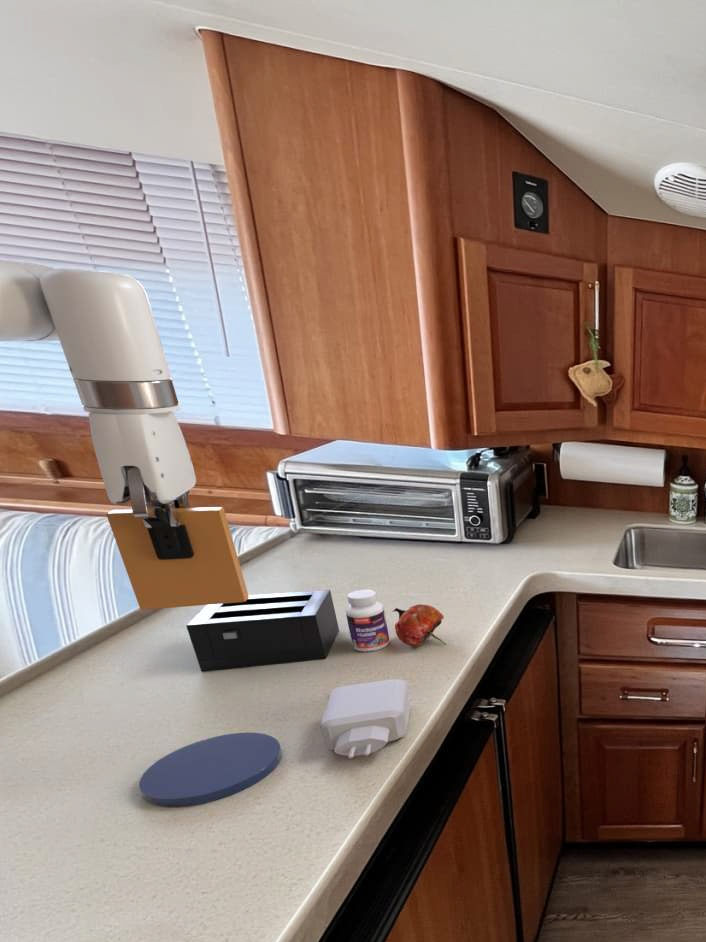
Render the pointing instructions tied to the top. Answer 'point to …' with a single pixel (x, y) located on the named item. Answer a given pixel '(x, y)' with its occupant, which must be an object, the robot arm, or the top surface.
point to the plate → (210, 769)
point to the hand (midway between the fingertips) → (180, 554)
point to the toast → (181, 561)
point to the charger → (366, 716)
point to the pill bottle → (366, 621)
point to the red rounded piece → (417, 624)
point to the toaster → (264, 630)
